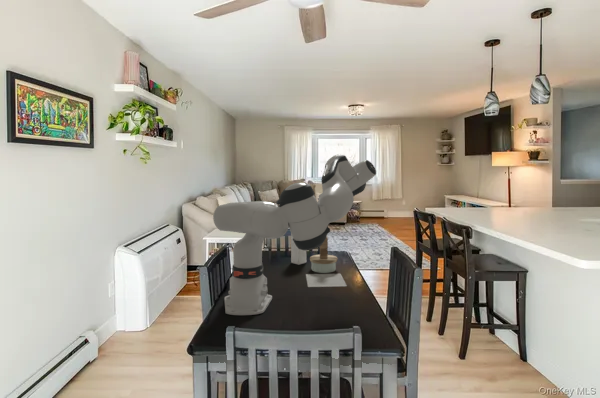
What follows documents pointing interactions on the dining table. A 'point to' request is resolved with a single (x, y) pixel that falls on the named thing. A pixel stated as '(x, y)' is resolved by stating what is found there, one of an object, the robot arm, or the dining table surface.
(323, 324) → the dining table surface
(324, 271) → the bowl
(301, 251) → the milk
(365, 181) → the robot arm
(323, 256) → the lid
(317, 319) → the dining table surface
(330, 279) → the mat
